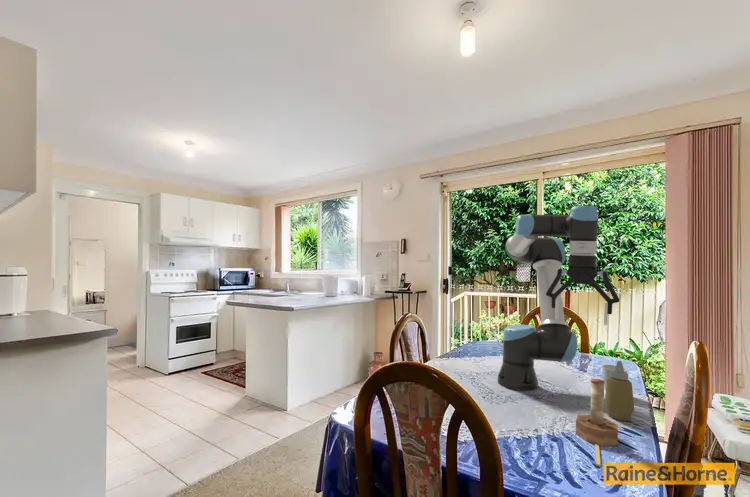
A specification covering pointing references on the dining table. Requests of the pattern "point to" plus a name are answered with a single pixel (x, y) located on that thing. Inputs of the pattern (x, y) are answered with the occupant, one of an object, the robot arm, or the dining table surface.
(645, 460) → the dining table surface
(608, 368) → the cup
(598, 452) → the pale yellow wooden rod
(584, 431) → the walnut bead
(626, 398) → the squeeze bottle
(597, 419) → the needle dowel
